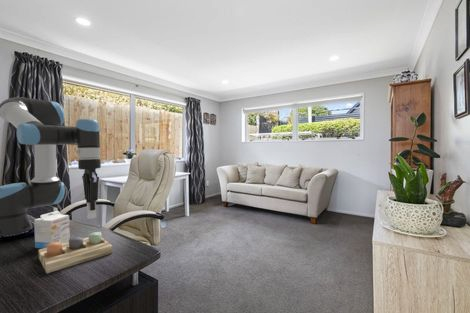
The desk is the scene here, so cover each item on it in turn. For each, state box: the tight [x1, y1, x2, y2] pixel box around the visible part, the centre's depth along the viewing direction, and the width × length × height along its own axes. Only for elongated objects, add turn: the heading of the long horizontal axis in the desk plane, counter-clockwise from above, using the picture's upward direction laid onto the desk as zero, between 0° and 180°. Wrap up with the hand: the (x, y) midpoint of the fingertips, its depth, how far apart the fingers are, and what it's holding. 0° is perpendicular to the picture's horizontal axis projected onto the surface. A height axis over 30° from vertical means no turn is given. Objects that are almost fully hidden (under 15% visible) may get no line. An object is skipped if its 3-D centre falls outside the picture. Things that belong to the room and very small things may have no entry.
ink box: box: [33, 210, 71, 249], centre depth 98 cm, size 9×8×13 cm
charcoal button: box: [69, 236, 84, 250], centre depth 88 cm, size 4×4×3 cm
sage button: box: [88, 231, 103, 244], centre depth 93 cm, size 4×4×3 cm
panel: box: [38, 236, 113, 274], centre depth 88 cm, size 16×20×3 cm
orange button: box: [47, 241, 62, 256], centre depth 83 cm, size 4×4×3 cm
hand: (92, 217), depth 92 cm, fingers closed
